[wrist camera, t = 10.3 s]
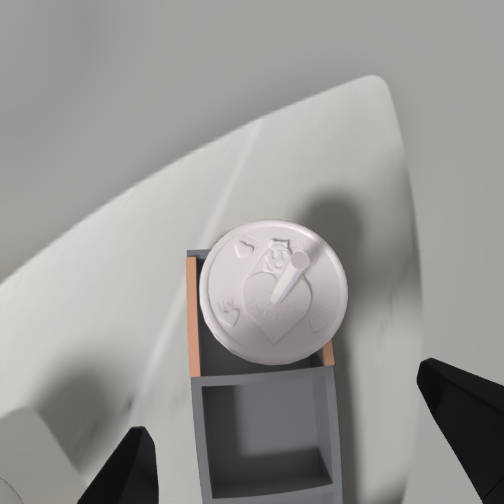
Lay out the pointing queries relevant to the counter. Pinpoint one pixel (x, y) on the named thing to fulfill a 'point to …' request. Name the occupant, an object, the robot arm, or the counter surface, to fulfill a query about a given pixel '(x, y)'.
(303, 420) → the bottle caddy
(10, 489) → the drinking glass
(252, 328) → the smoothie
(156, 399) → the counter surface
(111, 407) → the counter surface
